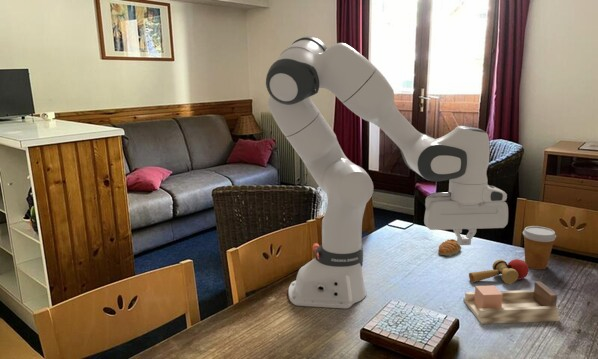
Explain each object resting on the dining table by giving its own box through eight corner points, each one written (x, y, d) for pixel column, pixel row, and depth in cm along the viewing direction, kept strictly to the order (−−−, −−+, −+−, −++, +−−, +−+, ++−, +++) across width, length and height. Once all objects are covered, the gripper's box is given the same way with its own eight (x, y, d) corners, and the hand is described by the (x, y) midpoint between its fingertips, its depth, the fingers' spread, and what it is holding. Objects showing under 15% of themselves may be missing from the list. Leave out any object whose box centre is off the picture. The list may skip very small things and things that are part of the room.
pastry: (452, 259, 155) (453, 248, 154) (433, 254, 159) (433, 244, 158) (462, 250, 162) (462, 240, 161) (443, 246, 166) (444, 236, 165)
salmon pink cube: (482, 312, 118) (483, 294, 117) (474, 303, 123) (475, 286, 122) (501, 311, 118) (502, 294, 117) (492, 302, 123) (493, 285, 122)
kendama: (479, 293, 134) (536, 280, 136) (476, 272, 133) (533, 259, 135) (466, 285, 141) (520, 273, 143) (463, 265, 141) (517, 253, 143)
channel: (481, 323, 115) (483, 302, 114) (463, 300, 127) (464, 280, 125) (559, 320, 116) (562, 299, 114) (534, 298, 127) (536, 278, 126)
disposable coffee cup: (558, 266, 147) (562, 231, 144) (542, 274, 142) (546, 238, 139) (529, 257, 154) (533, 223, 152) (513, 264, 149) (516, 229, 147)
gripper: (429, 196, 110) (427, 250, 113) (513, 194, 110) (508, 247, 114) (421, 189, 116) (419, 241, 119) (501, 187, 116) (497, 238, 120)
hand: (463, 244), depth 116 cm, fingers closed
